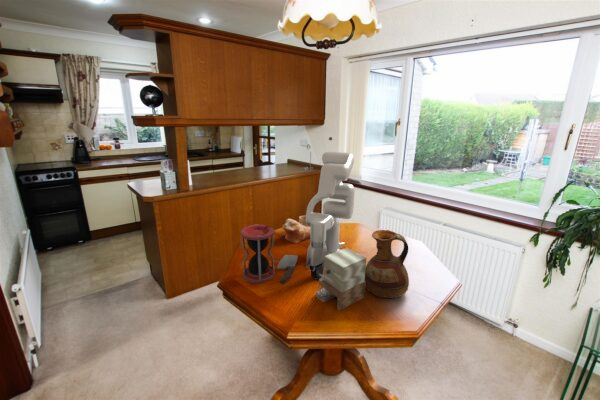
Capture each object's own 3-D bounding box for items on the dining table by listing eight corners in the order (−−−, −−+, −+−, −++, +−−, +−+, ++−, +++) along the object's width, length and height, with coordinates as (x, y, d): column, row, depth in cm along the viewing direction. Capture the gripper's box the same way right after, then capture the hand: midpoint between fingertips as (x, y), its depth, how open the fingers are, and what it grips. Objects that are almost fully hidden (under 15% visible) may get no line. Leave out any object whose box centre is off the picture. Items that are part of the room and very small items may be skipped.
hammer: (317, 273, 151) (317, 261, 149) (347, 295, 134) (348, 282, 132) (311, 276, 149) (311, 264, 146) (341, 298, 132) (342, 284, 130)
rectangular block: (325, 291, 137) (325, 287, 136) (334, 298, 132) (334, 293, 131) (315, 296, 133) (315, 291, 133) (324, 303, 129) (324, 298, 128)
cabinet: (343, 282, 143) (345, 246, 137) (364, 297, 132) (368, 258, 126) (318, 294, 134) (319, 255, 128) (339, 310, 123) (341, 269, 117)
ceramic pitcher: (360, 278, 147) (364, 223, 138) (400, 279, 147) (407, 224, 138) (367, 302, 129) (373, 241, 120) (413, 303, 128) (422, 242, 119)
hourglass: (276, 281, 144) (275, 235, 136) (243, 285, 141) (241, 238, 133) (272, 265, 159) (271, 222, 151) (242, 268, 156) (240, 225, 148)
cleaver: (290, 284, 142) (290, 281, 141) (270, 283, 143) (270, 279, 142) (298, 256, 170) (298, 253, 169) (282, 255, 171) (282, 252, 170)
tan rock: (277, 239, 190) (276, 218, 186) (305, 229, 207) (306, 209, 203) (290, 246, 181) (290, 224, 176) (319, 235, 198) (320, 214, 193)
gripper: (325, 236, 150) (324, 267, 156) (299, 244, 141) (299, 277, 146) (335, 241, 145) (333, 273, 150) (309, 250, 135) (308, 284, 140)
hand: (316, 275), depth 148 cm, fingers closed on hammer, 4 cm apart
